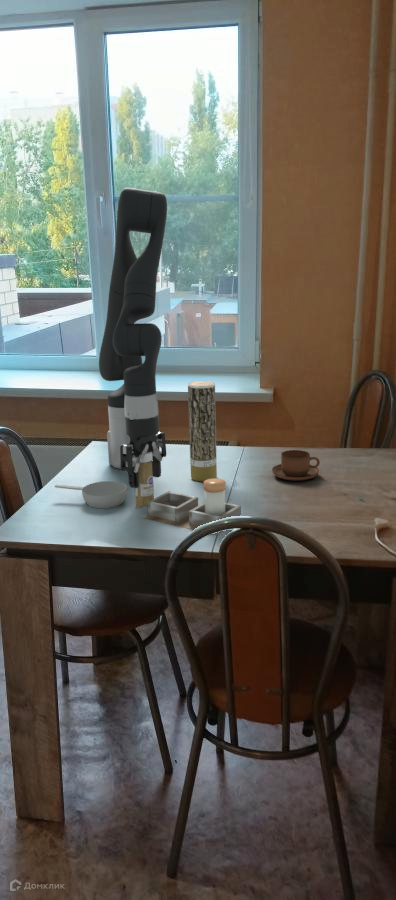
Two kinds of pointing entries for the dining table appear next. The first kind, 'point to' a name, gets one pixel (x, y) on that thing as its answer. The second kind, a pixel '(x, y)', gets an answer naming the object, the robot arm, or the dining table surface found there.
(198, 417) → the paper tube
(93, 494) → the small pan
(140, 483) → the sprinkles bottle
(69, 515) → the dining table surface
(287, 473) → the cup and saucer
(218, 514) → the white lotion bottle
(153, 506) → the board
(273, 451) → the dining table surface
